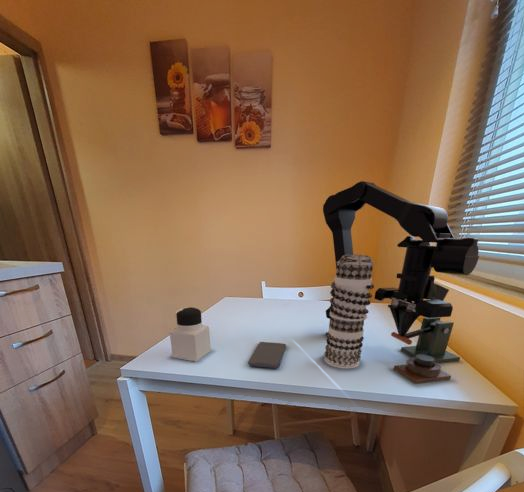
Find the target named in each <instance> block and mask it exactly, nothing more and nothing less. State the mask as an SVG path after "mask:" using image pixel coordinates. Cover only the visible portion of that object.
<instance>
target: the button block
mask: <svg viewBox="0 0 524 492" xmlns="http://www.w3.org/2000/svg"><path fill="white" fill-rule="evenodd" d="M415 358H416V357H409V358H407V360H406V362H405V364H398V365H393V371H395V372H397V373H398V374H400V375H401V376H403V378H405V379H407V380H408V381H410V382H411V383H413V384H414V385H418V384H419V385H420V384H427V383H433V382H435V383H436V382H443V381H450V380H451V377H452V375H451V374H449V373H447V372H445V371H443V370H442V366H441V364H440V363H437V362H435V361H434V363H433V367H430V368H428V367H422V366H418V365H416V364H415V363H414V362H415Z"/></svg>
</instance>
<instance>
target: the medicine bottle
mask: <svg viewBox="0 0 524 492" xmlns="http://www.w3.org/2000/svg"><path fill="white" fill-rule="evenodd" d="M174 313H175V324H176V327H174V328H173V329H170V330H169V341H170V347H171V355H172V358H174V359H179V360H183V361H184V360H185V361H190V362H195V363H197V362H198V361H200V360H201V359H203V358H204V357H205V356H206V355H208V354H209V353H210V352H211V351H212V348H211V334H210V333H211V332H210V326H209V325H203V321H202V310H200V309H199V308H197V307H192V306H191V307H182V308H179V309H177V310H176V311H175V312H174Z"/></svg>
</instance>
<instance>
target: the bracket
mask: <svg viewBox="0 0 524 492" xmlns="http://www.w3.org/2000/svg"><path fill="white" fill-rule="evenodd" d="M436 320H439V321H441V317H437V318H427V317H423V318H422V320H421V321H422V322H421V326H420V329H423V328H426V327H428V324H429V323H430V322H433V321H436ZM454 323H455V322H454V321H442V322H437V323H436V324H435V328H434V331H433V333H430V332H428V333H425V334H422V335H419V336H417V342H416V345H411V346H409V345H408V346H401V348H400V351H401V352H402V353H404V354H406V355H408V356H410V358H412V357H416V355H419V354H423V355H428V356H431V357H433V358H434V359H435V360H434V361H435V362H437V363H439V364H444V363H454V362H459V361H460V360H461V357H460V356H458V355H456V354H454V353H452V352H449V351H448V350H447V347H448V344H449V341H450V338H451V334H452V331H453V327H454Z"/></svg>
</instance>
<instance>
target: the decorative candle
mask: <svg viewBox="0 0 524 492" xmlns="http://www.w3.org/2000/svg"><path fill="white" fill-rule="evenodd" d="M336 263H337V270H336V269H335V270H336V272H335V275H334V281H333V282H331V284H330V288H331V290H330V292H329V294H330V296H331V298H330V300H329V304H330V305H329V307H328V308H329V309H330V311H331V312H330V316H331V323H330V322H329V323H330V325H328V333H327V332H326V333H327V335H326V337H327V339H326V340H325V341H326V345H325V347H324V349H325V351H324V361H325V363H326V364H328V365H330V366H331V367H334V368H339V369H353V368H356V367H358V366H359V365H360V361H361V355H362V352H363V351H362V349H361V348H362V347H363V345H364V344H363V341H364V340H365V339H364V326H365V320H367V319H368V314H369V309H367V306H370V305H371V304H372V302H371V301H370V300H369V299H371V298H373V294H371V293H370V292H369V291H371V290H372V289H375V285H374V284H373V283H372V282H373V277H372V275H373V272H374V271H373V268H374V265H376V263H375V262H373V260H372V257H370V256H369V255H366V254H353V255H344V256H342V257H341V259H340V260H339V261H338V262H336V261H335V264H336Z"/></svg>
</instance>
